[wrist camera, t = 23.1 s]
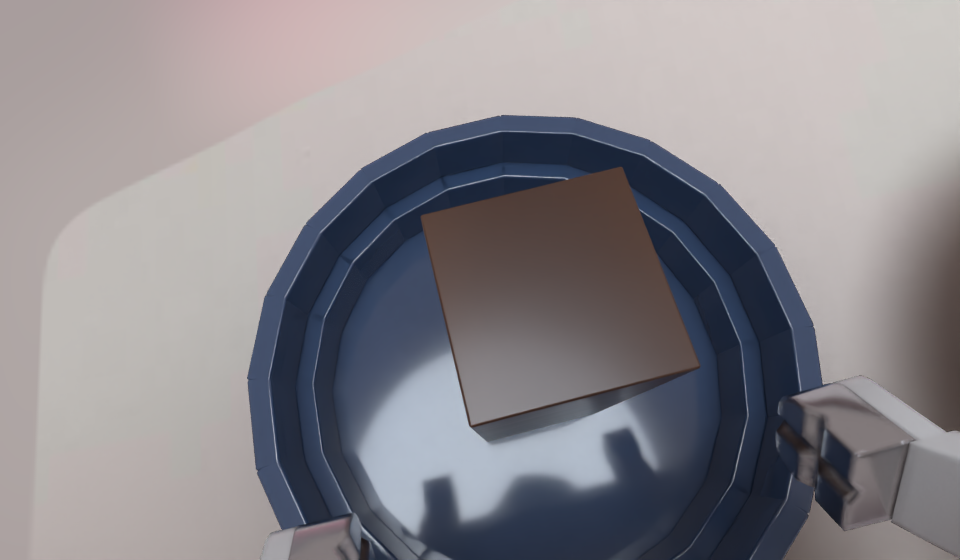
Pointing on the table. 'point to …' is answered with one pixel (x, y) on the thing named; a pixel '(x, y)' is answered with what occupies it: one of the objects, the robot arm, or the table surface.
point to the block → (554, 303)
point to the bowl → (548, 450)
